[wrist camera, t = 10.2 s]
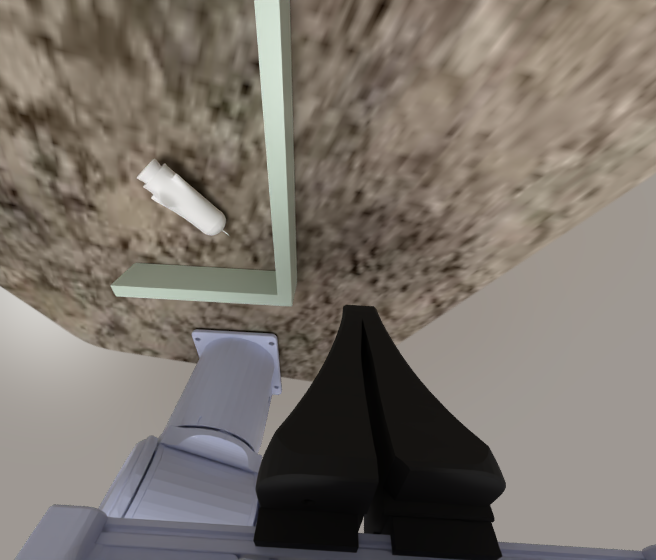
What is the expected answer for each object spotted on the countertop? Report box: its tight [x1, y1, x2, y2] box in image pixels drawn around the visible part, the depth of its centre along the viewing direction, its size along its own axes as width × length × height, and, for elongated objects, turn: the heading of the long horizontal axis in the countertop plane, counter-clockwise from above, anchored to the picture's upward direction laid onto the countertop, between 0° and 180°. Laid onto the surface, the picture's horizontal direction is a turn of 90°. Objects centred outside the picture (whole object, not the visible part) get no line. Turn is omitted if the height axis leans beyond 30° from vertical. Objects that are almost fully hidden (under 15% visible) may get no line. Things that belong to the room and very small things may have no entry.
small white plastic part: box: [137, 159, 228, 235], centre depth 18 cm, size 4×6×3 cm, turn 11°
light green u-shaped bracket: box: [110, 0, 297, 306], centre depth 17 cm, size 18×13×3 cm
